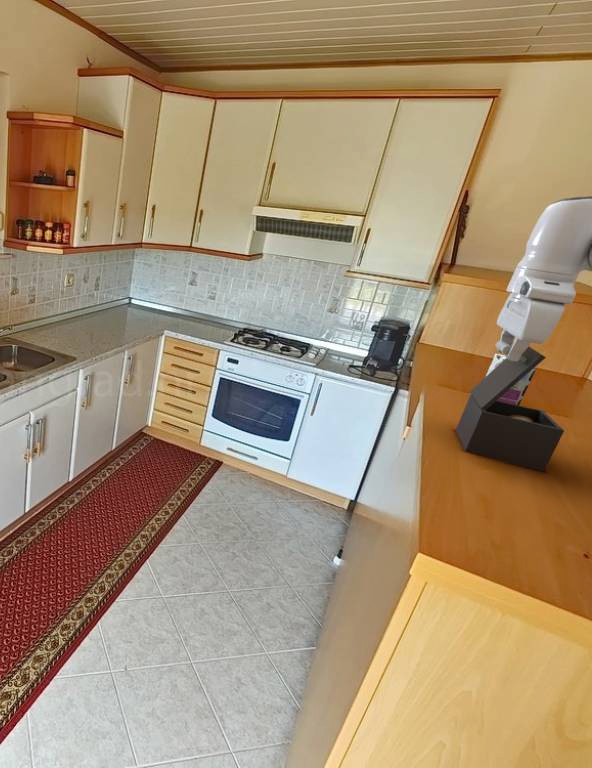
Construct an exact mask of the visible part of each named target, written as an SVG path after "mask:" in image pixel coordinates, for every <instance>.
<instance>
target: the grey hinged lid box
mask: <svg viewBox="0 0 592 768" xmlns="http://www.w3.org/2000/svg"><path fill="white" fill-rule="evenodd" d="M514 415H518V416H525V417H528V418H530V419H532V420H533V422H534V423H533V422H529V421H524V420H520V419H516V418H511V417H508V416H514ZM455 432H456V434H457V437H458V440H459V441H460V443H461V445H462V447H463V449H464V451H465V452H467V453H471V454H475V455H479V456H482V457H487V458H491V459H494V460H498V461H502V462H506V463H509V464H514V465H516V466H521V467H525V468H527V469H532V470H535V471H540V472H543V473H544V472H546V471H545V470H546V468H547V467H548V464H549V463H550V460H551V459H552V456H553V454H554V453H555V450H556V448H557V446H558V445H559V442H560V440H561V439H562V436H563V434H564V433H565V429H563V428H562V427H561V426H560V425H559V424H558V423H557V422H556V421H555V420H554V419H553V418H552V417H551V416H549V414H547V412H545V410H543V409H538V408H534V407H528V406H525V405H521V404H519V405H515V404H511V403H506V402H502V401H495V402H494V403H493V404H492V405H491V406H490V407H489V408H487V409H486V410H483V409H481V407H480V406H479V404H478V403H477V401H476V400H475V399H474V397H473V396H472V394H469V397H468V400H467V401H466V404H465V407H464V409H463V411H462V414H461V416H460V419H459V421H458V424H457V426H456V428H455Z"/></svg>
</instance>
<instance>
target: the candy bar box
mask: <svg viewBox="0 0 592 768" xmlns="http://www.w3.org/2000/svg"><path fill="white" fill-rule="evenodd" d="M505 359H506V355H505V354H501V353H500V354H499V353H494V355H493V359H492V360H491V363H490V365H489V368H488V369H487V372H486V374H485V376H484V378H485V377H486V376H487V375H488V374H489V373H491V372H492V371H493V370H494V369H495V368H496V367H497V366H498V365H499V364H500V363H502V362H503V361H504V360H505ZM536 371H537V368H536V367H535V368H533V369H532V370H531V371H530V372H529V373H528V374H527V375H525V376H524V377H523V378H522V379H521V380H520V381H518V382H517V383H516V384H515V385H514V386H513V387H512V388H510V389H509V390H508V391H507V392H506V393H505V394H504V395H502V396H501V397H500V398H499V399H498V400H497V401H502V402H506V403H511V404H515V405H521V403H522V400H523V398H524V396H525V394H526V392H527V390H528V388H529V386H530V384H531V381H532V380H533V378H534V375H535V373H536Z"/></svg>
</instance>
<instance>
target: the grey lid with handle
mask: <svg viewBox="0 0 592 768" xmlns="http://www.w3.org/2000/svg"><path fill="white" fill-rule="evenodd" d="M512 346H513V345H512ZM512 346H511V345H509V344H508V343H507V342H505V341H500V340H498V341H497V342H496V343H495V347H496V349H497V348H498V349H499V350H500V351H501V352H502V353H501V354H503V355H507V353H508V351H509V350H510V349H511V347H512ZM546 358H547V356H545V355H543V354H542V353H540V352H538V351H537V350H535V349H534V348H532V347H531V346H529V347H528V348H527V349H526V350H525V351H524V352H523V353H522V355H521V357H520V359H519V361H517V362H515V361H511V360H508V359H507V358H506V359H505V360H504V361H503V362H502V363H500V364H499V365H498V366H497V367H496V368H495V369H494V370H493V371H492V372H491V373H489V374H488V375H487V376H486V375H485V376H486V377H485V376H484V378H482V379H481V380H480V381H479V382H478V383H477V384H476V385H475V386H474V387H472V389H471V390H469V393H470V395H472V396H473V397H474V399H475V400H476V401H477V403H478V404H479V406H480V407H481V409H483V410H486V409H487V408H489V407H490V406H491V405H492V404H493V403H494V402H495V401H497V400H498V399H499V398H500V397H501V396H502V395H504V394H505V393H506V392H507V391H508V390H509V389H510V388H512V387H513V386H514V385H515V384H516V383H517V382H518V381H520V380H521V379H522V378H523V377H524V376H525V375H527V374H528V373H529V372H530V371H531V370H532V369H533V368H536V367H537V366H539V364H541V363H542V362H543V361H544V360H545V359H546Z"/></svg>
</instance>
